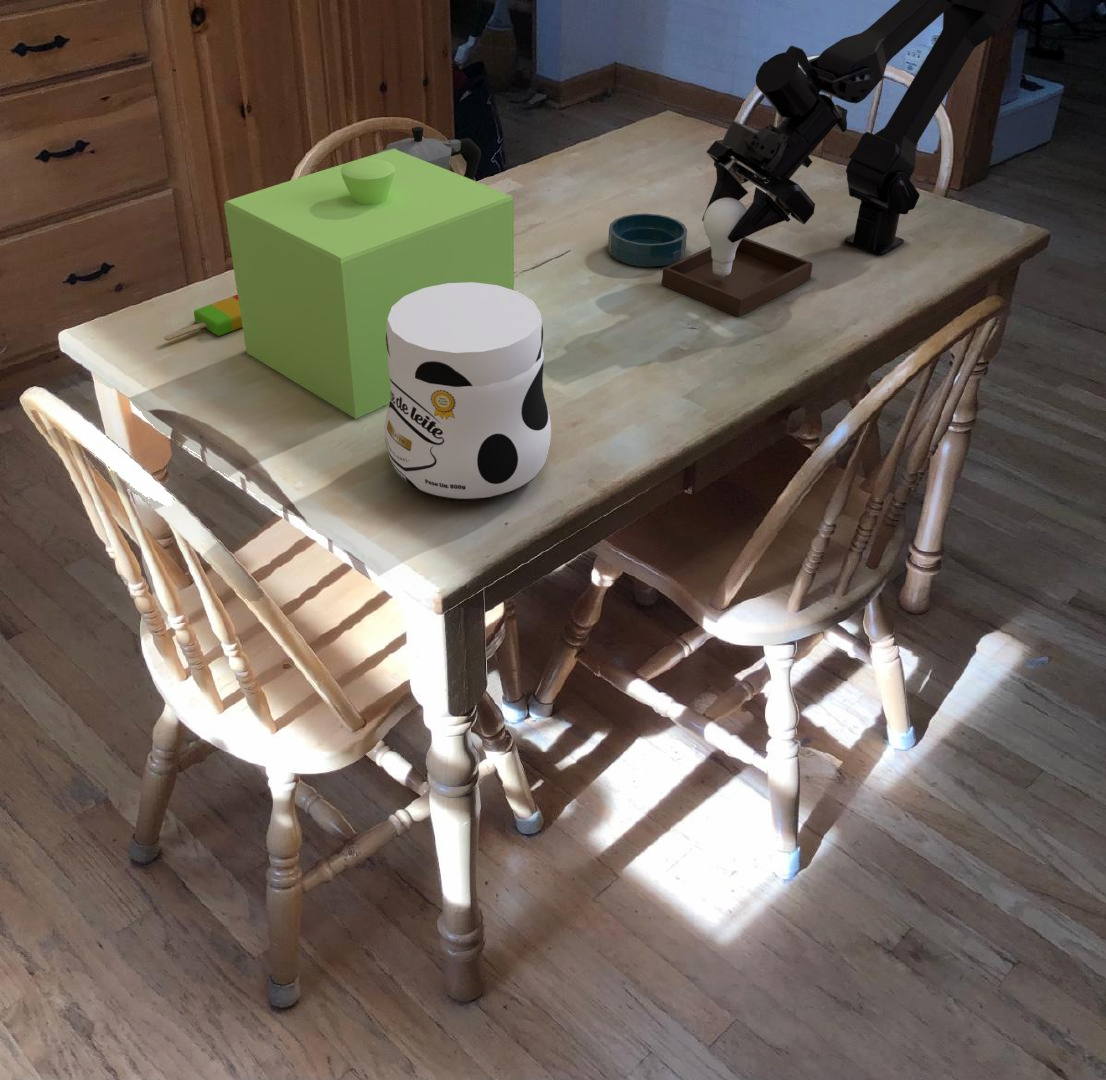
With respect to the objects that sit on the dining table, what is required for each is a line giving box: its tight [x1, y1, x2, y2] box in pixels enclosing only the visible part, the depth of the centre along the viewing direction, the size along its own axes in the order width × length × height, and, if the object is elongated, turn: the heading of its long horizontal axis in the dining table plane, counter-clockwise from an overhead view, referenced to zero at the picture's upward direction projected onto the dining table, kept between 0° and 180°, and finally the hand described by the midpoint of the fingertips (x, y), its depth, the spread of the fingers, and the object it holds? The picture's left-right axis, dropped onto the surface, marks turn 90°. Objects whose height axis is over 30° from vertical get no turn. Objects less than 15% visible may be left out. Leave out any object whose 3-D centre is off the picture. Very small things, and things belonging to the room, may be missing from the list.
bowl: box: [607, 213, 688, 268], centre depth 174 cm, size 11×11×4 cm
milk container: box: [384, 282, 552, 502], centre depth 125 cm, size 17×17×18 cm
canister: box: [223, 149, 515, 420], centre depth 144 cm, size 25×21×23 cm
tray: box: [661, 237, 814, 318], centre depth 167 cm, size 16×13×2 cm
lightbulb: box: [702, 198, 748, 277], centre depth 163 cm, size 6×6×11 cm
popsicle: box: [163, 294, 243, 342], centre depth 155 cm, size 6×15×2 cm, turn 135°
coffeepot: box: [376, 126, 482, 181], centre depth 168 cm, size 15×9×18 cm, turn 113°
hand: (716, 231), depth 162 cm, fingers closed on lightbulb, 6 cm apart
